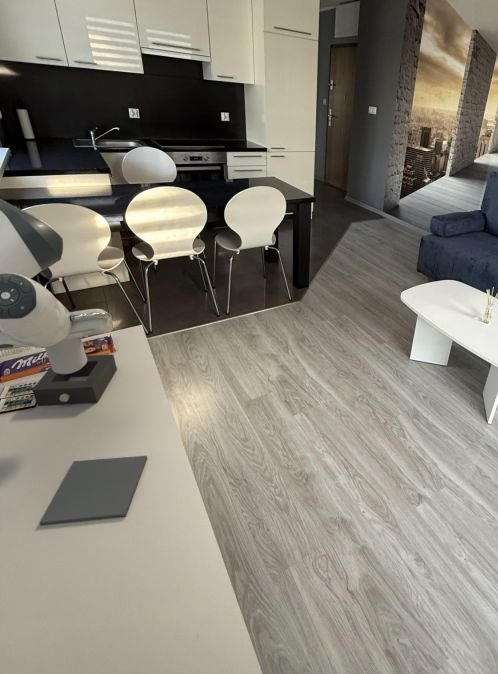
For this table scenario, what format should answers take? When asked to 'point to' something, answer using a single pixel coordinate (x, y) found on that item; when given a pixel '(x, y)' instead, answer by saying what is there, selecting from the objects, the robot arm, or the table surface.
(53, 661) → the table surface
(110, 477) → the mat
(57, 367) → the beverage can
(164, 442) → the table surface
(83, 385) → the blender base
